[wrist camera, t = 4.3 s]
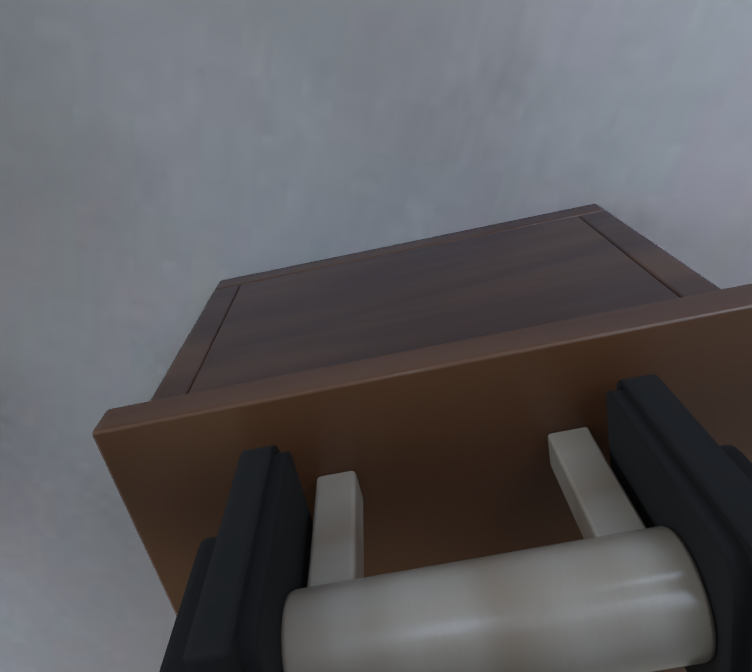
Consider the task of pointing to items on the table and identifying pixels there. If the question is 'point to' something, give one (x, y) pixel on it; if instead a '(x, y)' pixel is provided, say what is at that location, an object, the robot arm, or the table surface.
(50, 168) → the table surface
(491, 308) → the chest
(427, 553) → the lid
